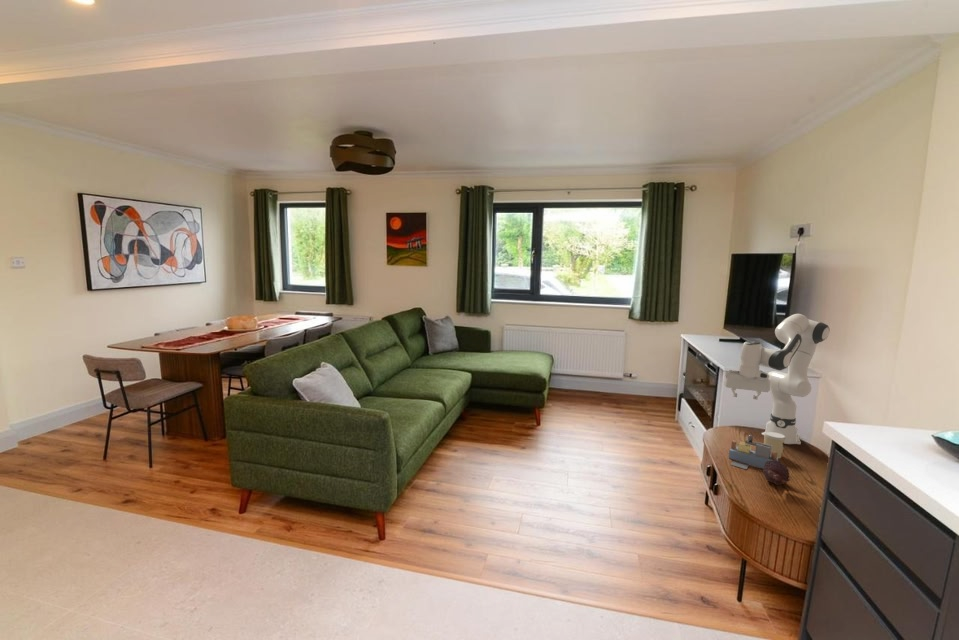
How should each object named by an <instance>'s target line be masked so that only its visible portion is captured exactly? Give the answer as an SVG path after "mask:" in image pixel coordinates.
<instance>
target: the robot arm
mask: <svg viewBox="0 0 959 640" xmlns="http://www.w3.org/2000/svg"><path fill="white" fill-rule="evenodd" d="M774 334H775V338H777V340H778V341H779V342H780V343H783V344H785V346H784V347H783V348H782V349H774V348H767V347H765V346H762V342H760V341H758V340H747V341H745V342H744V343H743V344H742V347H741V352H740V363H739V367H738V370H732V369H730V370H727V371H726V372H725V374H724V375H725V376H724V377H725V379H724V382H723V383H724V384H723V385H724V386H725V387H726V388H727V389H731V392H732V397H734V398H737V397H738V393H737V392H736V390H745V391H752V392H753V391H754V392H756V394H754V395H753V400H758V398H759V396H760V395H761V394H762V393H768V392H770V394H771V399H772V407H771V408H772V409H771V413H770V419H769V420H768V421H767V422H766V423H765V425H766V426H765V431H764V432H761V435H762V436H764V433H765V432H776V433H780V434H782V435H784V436H785V442H784V445H802V444H801V443H802V442H801V440H800V439H801V438H800V437H799V435H798V428H797V427H796V423H797V418H796V414H797V404H796V402H795V401H794V400H793V398H792V396H793V397H797V398H799V397H800V398H805V397H807V396H808V395H810V393H811V392H812V384H811V383H810V381H809V379H808V370H809V366H810V363H811V360H812V359H813V356H814V355H815V352H816V349H817V344H819V343H822V342H823V341H825V340H827V338H828V337H829V334H830V327H829V325H828V324H826V323H825V322H821V321H820V322H819V321H816V320H812V319H809V318H808V317H807V316H806V315H804V314H801V313H794V314H791V315H790V316H787V317H786V318H783V320H782V321H781V322H780V323H779V324H778V325H777V326H776V328H775V330H774ZM760 366H761V367H765V368H771V369H773V371H769V372H765V371H762V370H761V369H760ZM785 369H787V372H784V371H783V370H785ZM775 370H776V371H775ZM782 371H783V372H782Z"/></svg>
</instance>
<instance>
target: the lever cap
mask: <svg viewBox="0 0 959 640" xmlns="http://www.w3.org/2000/svg"><path fill="white" fill-rule="evenodd" d="M752 446H753V445H750V444H746V443H745V441H741V440H740V441H739V443H738V446H737V447H738V451H739V452H743V453H746V454H749V453H750V452H751V450H752Z"/></svg>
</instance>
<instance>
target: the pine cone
mask: <svg viewBox="0 0 959 640" xmlns="http://www.w3.org/2000/svg"><path fill="white" fill-rule="evenodd" d="M762 471H763V472H762V473H763V475H764V478H765V479H766V480H767V481H769V482H770V483H772V484H775V485H777V486H778V485H783V484H787V483H788V482H790V479H789V478H790V471H789V468H788V467H787V465H784V463H782V462H781V461H779V460H778V461H776V460H775V461H774V460H773V461H767V462H766V463H765V465H764V468H763V469H762Z"/></svg>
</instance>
